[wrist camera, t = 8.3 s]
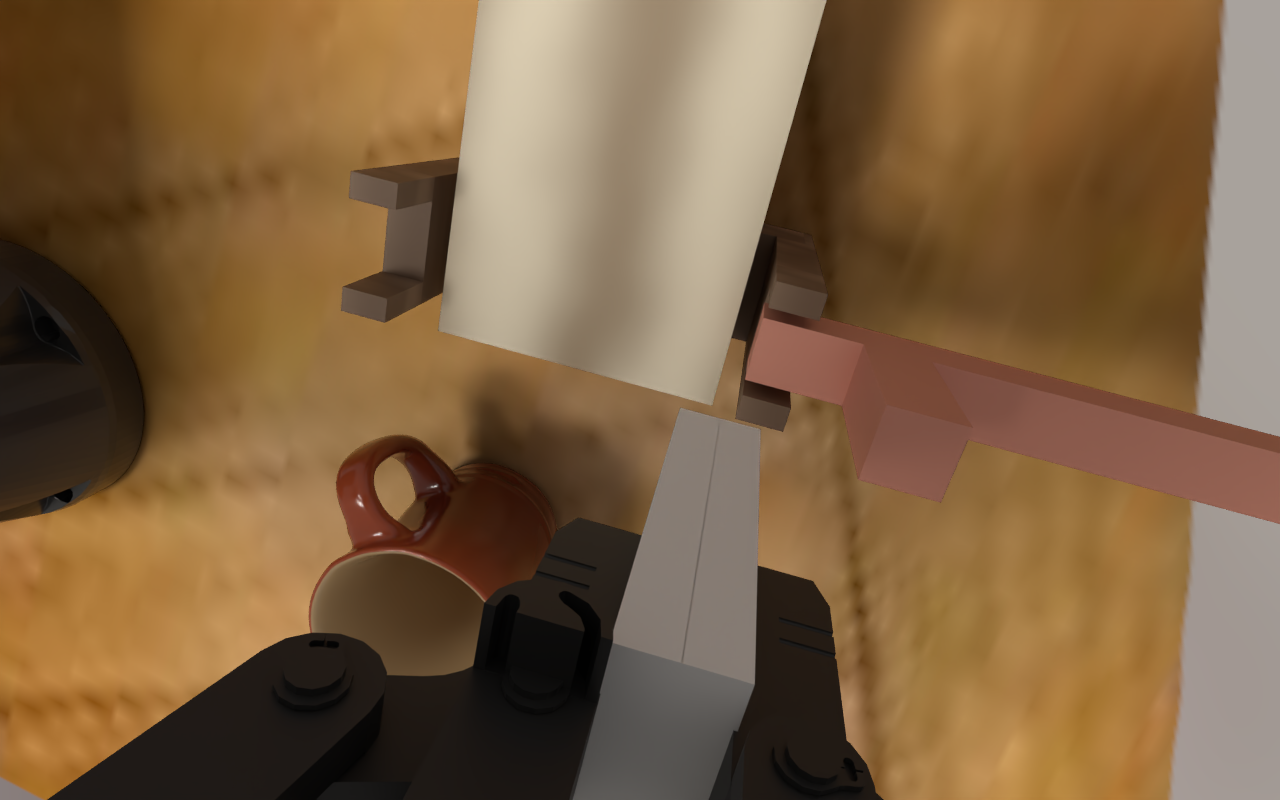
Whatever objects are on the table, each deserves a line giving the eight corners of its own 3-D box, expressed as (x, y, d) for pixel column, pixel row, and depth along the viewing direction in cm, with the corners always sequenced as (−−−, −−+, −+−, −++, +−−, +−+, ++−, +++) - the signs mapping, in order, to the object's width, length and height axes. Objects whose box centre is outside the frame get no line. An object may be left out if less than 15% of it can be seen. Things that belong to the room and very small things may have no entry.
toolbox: (474, 257, 35) (340, 319, 24) (522, -89, 30) (377, -205, 19) (779, 338, 34) (780, 440, 23) (885, -7, 28) (950, -82, 18)
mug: (599, 572, 40) (544, 714, 30) (456, 601, 42) (363, 740, 33) (518, 364, 36) (426, 450, 27) (366, 407, 39) (233, 501, 29)
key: (747, 360, 25) (736, 446, 18) (764, 302, 24) (759, 370, 17) (1245, 493, 23) (1422, 635, 17) (1279, 437, 23) (1479, 564, 16)
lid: (470, 310, 29) (438, 330, 27) (532, -139, 24) (500, -173, 21) (718, 377, 29) (711, 405, 26) (844, -71, 23) (853, -97, 20)
